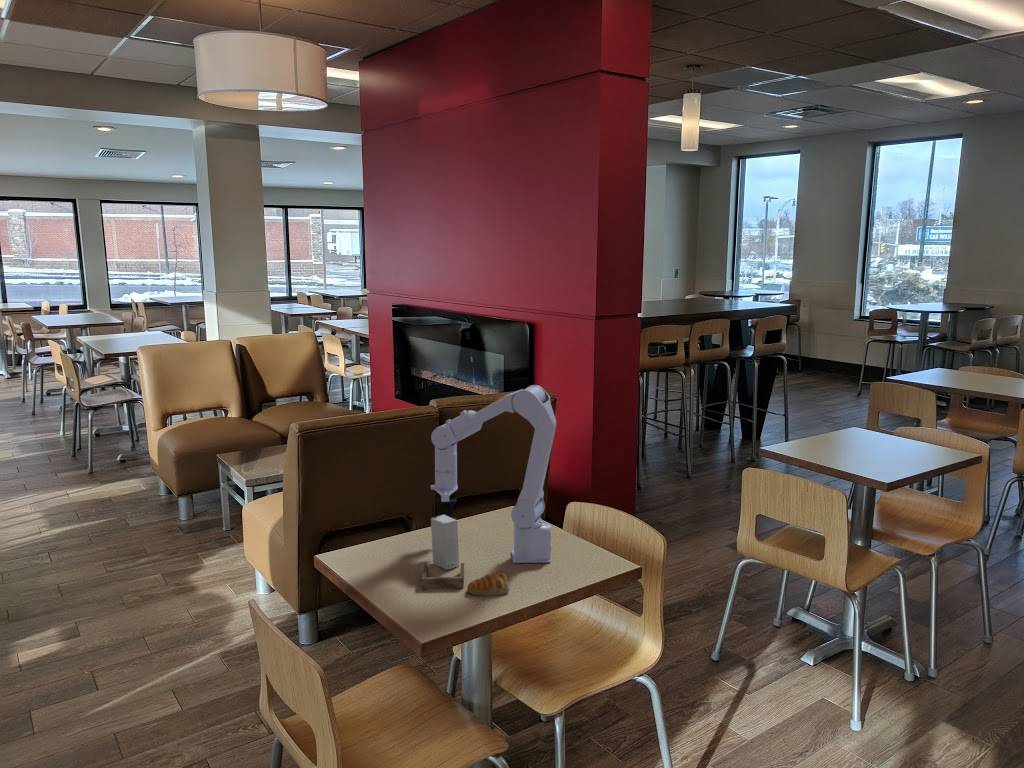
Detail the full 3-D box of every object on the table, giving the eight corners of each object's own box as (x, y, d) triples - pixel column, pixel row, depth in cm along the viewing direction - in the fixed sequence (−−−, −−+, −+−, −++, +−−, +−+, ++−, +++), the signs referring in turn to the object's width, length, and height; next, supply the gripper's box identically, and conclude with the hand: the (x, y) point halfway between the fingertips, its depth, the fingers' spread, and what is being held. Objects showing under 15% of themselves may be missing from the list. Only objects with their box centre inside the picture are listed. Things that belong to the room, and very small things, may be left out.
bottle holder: (464, 572, 181) (464, 563, 180) (463, 588, 172) (463, 578, 172) (424, 573, 180) (424, 563, 180) (422, 589, 172) (421, 578, 171)
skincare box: (459, 566, 185) (459, 519, 183) (444, 571, 182) (444, 523, 180) (445, 559, 189) (445, 513, 187) (431, 563, 186) (430, 517, 185)
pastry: (471, 600, 166) (471, 584, 166) (463, 588, 173) (463, 573, 172) (511, 594, 169) (511, 578, 169) (502, 583, 176) (502, 567, 175)
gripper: (432, 462, 201) (432, 510, 203) (429, 477, 187) (429, 529, 189) (458, 462, 201) (458, 510, 203) (457, 477, 187) (457, 529, 189)
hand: (446, 519), depth 196 cm, fingers open, 7 cm apart
